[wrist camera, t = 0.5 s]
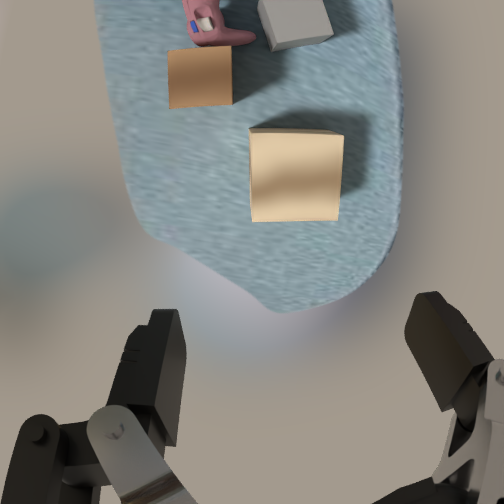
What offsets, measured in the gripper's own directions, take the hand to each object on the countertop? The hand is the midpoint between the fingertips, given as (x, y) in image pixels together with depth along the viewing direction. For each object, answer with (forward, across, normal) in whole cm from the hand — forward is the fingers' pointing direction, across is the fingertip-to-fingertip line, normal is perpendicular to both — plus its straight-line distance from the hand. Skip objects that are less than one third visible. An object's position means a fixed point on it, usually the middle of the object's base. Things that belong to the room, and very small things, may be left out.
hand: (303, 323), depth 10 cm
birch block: (+24, -3, +1) cm, 24 cm away
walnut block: (+24, +5, -8) cm, 26 cm away
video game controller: (+24, +3, -16) cm, 29 cm away
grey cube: (+24, -3, -14) cm, 28 cm away
